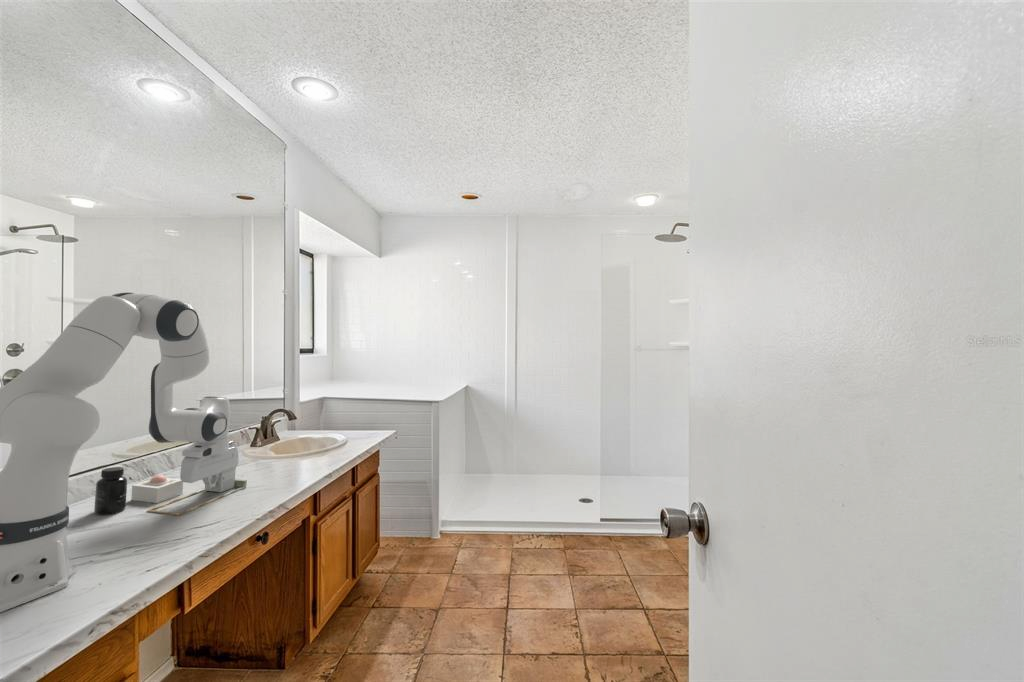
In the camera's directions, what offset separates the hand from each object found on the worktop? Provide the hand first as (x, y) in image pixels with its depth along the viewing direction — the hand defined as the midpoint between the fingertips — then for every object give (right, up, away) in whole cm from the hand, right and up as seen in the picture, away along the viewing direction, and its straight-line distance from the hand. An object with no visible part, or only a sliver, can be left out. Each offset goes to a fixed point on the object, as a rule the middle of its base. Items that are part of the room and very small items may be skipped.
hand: (210, 488), depth 148 cm
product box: (0, -2, +5) cm, 6 cm away
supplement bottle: (-18, -1, -17) cm, 24 cm away
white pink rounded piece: (-14, -1, -4) cm, 14 cm away
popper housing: (-14, -1, -4) cm, 14 cm away
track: (-1, -2, -4) cm, 5 cm away
